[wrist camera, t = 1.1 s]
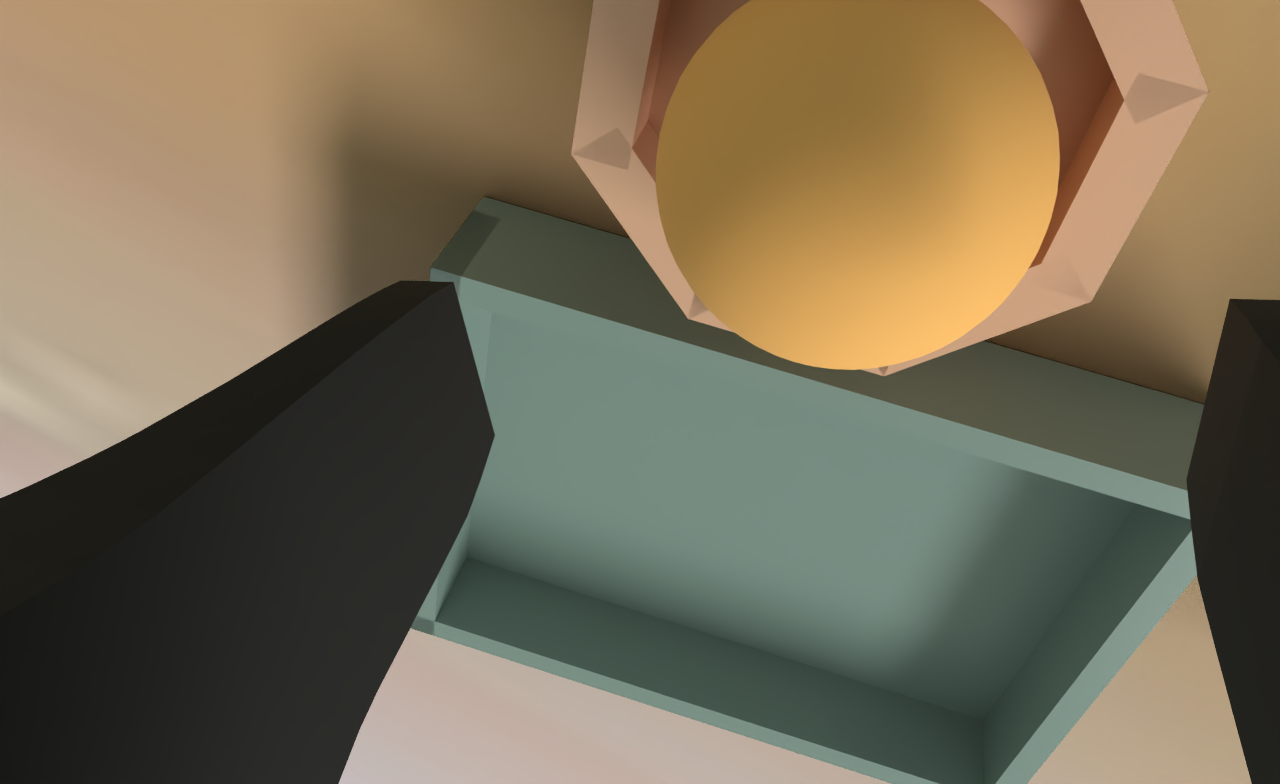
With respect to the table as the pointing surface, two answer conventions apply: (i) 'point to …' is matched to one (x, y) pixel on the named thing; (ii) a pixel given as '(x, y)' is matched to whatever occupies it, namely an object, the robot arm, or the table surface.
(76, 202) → the table surface
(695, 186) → the ball
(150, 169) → the table surface
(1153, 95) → the pot
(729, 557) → the tray
